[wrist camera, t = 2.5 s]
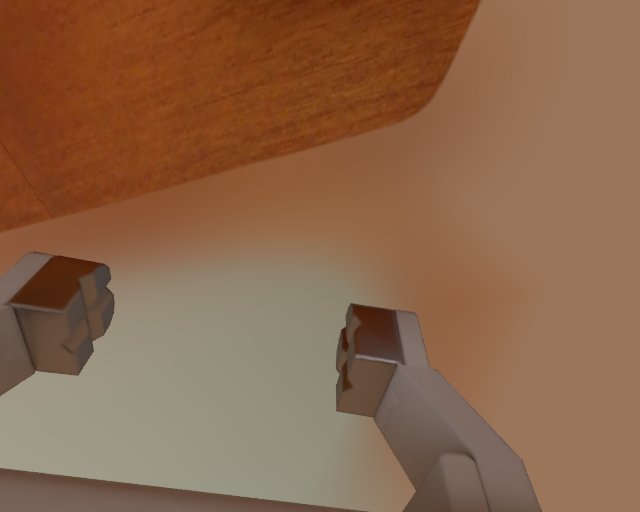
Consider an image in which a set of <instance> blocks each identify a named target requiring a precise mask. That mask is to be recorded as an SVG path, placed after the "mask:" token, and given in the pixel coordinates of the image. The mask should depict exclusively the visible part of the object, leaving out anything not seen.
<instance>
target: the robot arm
mask: <svg viewBox="0 0 640 512" xmlns="http://www.w3.org/2000/svg"><path fill="white" fill-rule="evenodd" d="M110 280H111V275H110V270H109V267H108V266H107V265H105V264H102V263H97V262H92V261H85V260H80V259H75V258H70V257H64V256H56V255H50V254H45V253H40V252H30V253H27V254H25V255H24V256H23V257H22V258H21V259H20V260H19V261H18V262H17V263H16V264H14V266H12V267H11V268H10V269H9V270H8V271H7V272H6V273H5V274H4V275H3V276H2V277H0V396H1V395H2V394H4V393H5V392H7V391H9V390H10V389H12V388H13V387H15V386H16V385H18V384H19V383H21V382H22V381H24V380H25V379H27V378H28V377H30V376H31V375H33V374H34V373H35V371H41V372H50V373H59V374H69V375H77V376H78V375H79V373H80V372H81V370H82V369H83V367H84V365H85V364H86V362H87V361H88V359H89V358H90V356H91V355H92V353H93V351H94V349H93V344H92V341H94V340H96V339H97V338H99V337H101V336H103V335H104V334H105V332H106V330H107V329H108V327H109V325H110V323H111V320H112V317H113V313H114V295H113V293H112V292H111V291H110V290H109V289H108V288H107V287H106V286H107V284H108V283H109V281H110ZM336 357H337V358H336V369H337V371H338V372H339V374H340V375H339V378H338V381H337V384H336V411H338V412H344V413H350V414H356V415H362V416H368V417H374V421H375V423H376V424H377V426H378V428H379V429H380V431H381V433H382V435H383V436H384V438H385V439H386V441H387V443H388V444H389V446H390V448H391V450H392V451H393V453H394V455H395V456H396V458H397V460H398V461H399V463H400V465H401V466H402V468H403V470H404V471H405V473H406V474H407V476H408V478H409V480H410V481H411V483H412V485H413V486H414V488H415V490H416V492H415V494H414V495H413V497H412V498H411V500H410V501H409V503H408V504H407V506H406V507H405V509H404V510H403V512H542V510H541V508H540V505H539V502H538V500H537V497H536V495H535V492H534V489H533V487H532V484H531V482H530V479H529V476H528V474H527V471H526V468H525V465H524V463H523V460H522V459H521V458H520V457H519V456H518V455H517V454H516V453H515V452H514V451H513V450H512V449H511V448H510V446H509V445H508V444H507V443H506V442H505V441H504V440H503V439H502V438H501V437H500V436H499V435H498V434H497V433H496V432H495V431H494V429H492V427H491V426H490V425H489V424H488V423H487V422H486V421H485V420H484V419H483V418H482V417H481V416H480V415H479V414H478V413H477V412H476V410H475V409H474V408H473V407H472V406H471V405H470V404H469V403H468V402H467V401H466V400H465V399H464V398H463V397H462V396H461V395H460V394H459V393H458V392H457V391H456V389H455V388H454V387H453V386H452V385H451V384H450V383H449V382H448V381H447V380H446V379H445V378H444V377H443V376H442V375H441V374H440V372H439V371H438V370H436V369H430V365H429V361H428V357H427V353H426V349H425V345H424V340H423V336H422V332H421V328H420V324H419V320H418V316H417V315H416V313H415V312H409V311H402V310H391V309H385V308H379V307H372V306H365V305H359V304H352V303H351V304H350V306H349V307H348V310H347V314H346V327H345V328H343V329H342V330H341V334H340V338H339V342H338V348H337V356H336ZM0 512H366V511H358V510H349V509H340V508H332V507H324V506H315V505H307V504H299V503H291V502H282V501H273V500H265V499H257V498H249V497H240V496H232V495H224V494H215V493H206V492H198V491H190V490H181V489H173V488H165V487H156V486H148V485H139V484H130V483H122V482H114V481H105V480H96V479H88V478H79V477H71V476H63V475H53V474H46V473H37V472H28V471H20V470H12V469H3V468H0Z"/></svg>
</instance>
